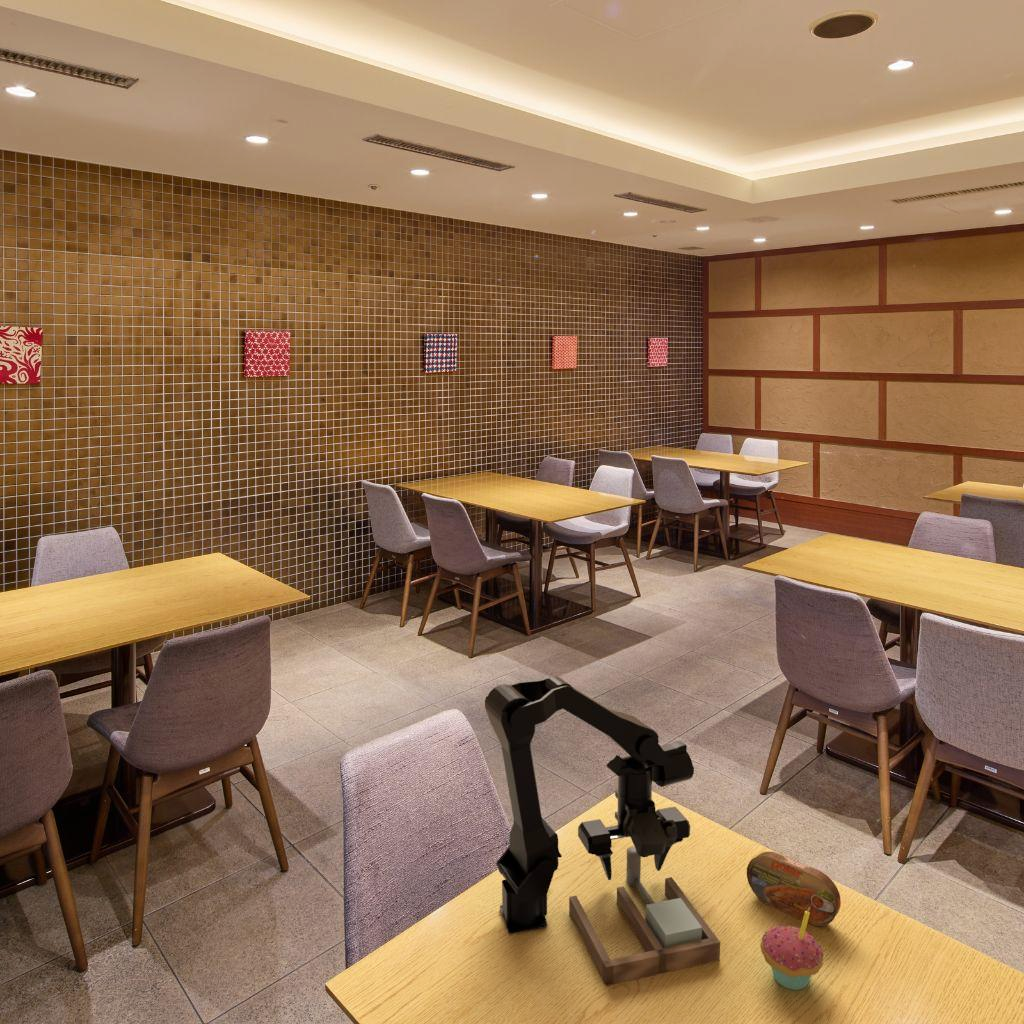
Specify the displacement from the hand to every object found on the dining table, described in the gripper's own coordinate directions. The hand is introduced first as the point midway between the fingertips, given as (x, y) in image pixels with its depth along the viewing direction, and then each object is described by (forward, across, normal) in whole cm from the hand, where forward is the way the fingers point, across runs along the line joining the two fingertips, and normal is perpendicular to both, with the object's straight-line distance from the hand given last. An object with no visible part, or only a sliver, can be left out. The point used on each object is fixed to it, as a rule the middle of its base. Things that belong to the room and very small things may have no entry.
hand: (633, 874), depth 134 cm
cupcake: (+2, +13, -26) cm, 30 cm away
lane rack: (+1, -4, -12) cm, 13 cm away
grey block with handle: (+2, 0, -9) cm, 9 cm away
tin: (+2, +22, -14) cm, 26 cm away
